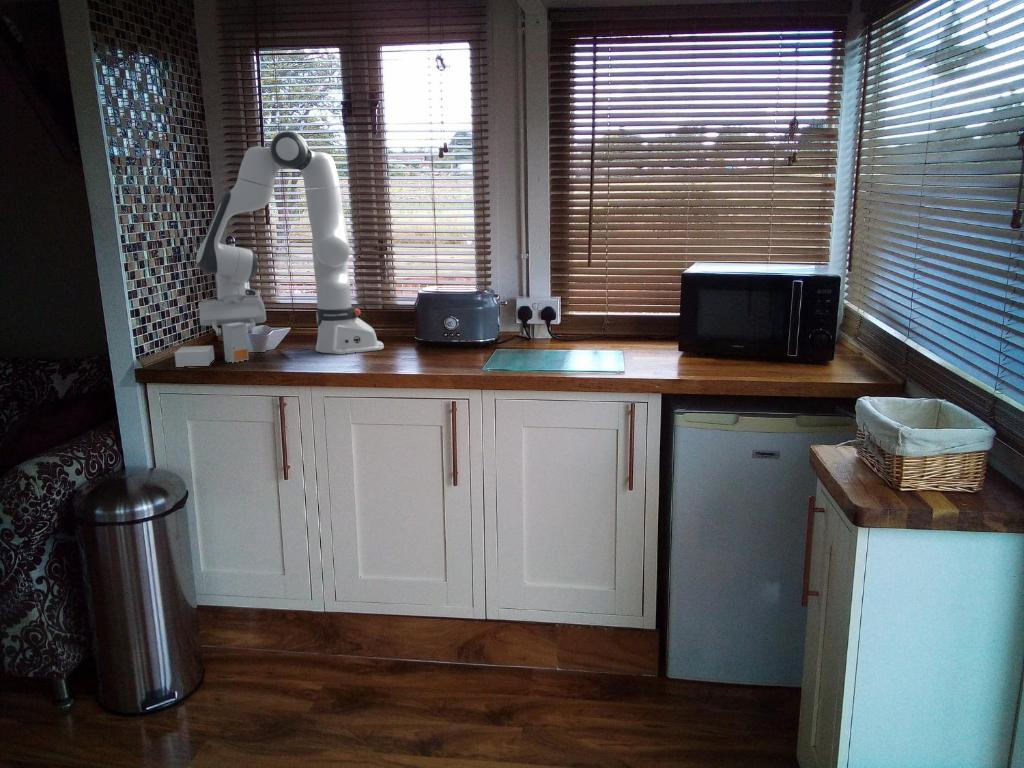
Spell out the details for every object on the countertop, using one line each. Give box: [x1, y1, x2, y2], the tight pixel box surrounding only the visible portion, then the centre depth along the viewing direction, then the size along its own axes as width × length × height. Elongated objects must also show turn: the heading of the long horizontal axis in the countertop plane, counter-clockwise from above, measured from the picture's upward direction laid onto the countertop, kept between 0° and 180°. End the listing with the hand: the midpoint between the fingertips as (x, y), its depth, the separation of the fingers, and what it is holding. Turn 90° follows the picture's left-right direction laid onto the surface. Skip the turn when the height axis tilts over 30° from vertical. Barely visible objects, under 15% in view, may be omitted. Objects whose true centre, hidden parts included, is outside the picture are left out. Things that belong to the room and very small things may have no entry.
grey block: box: [174, 345, 215, 368], centre depth 260 cm, size 10×10×5 cm
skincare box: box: [221, 322, 250, 364], centre depth 262 cm, size 6×4×12 cm
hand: (234, 333), depth 262 cm, fingers open, 8 cm apart
